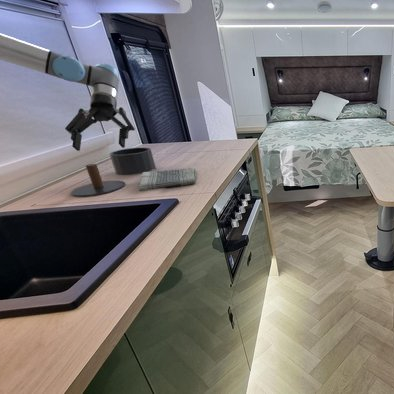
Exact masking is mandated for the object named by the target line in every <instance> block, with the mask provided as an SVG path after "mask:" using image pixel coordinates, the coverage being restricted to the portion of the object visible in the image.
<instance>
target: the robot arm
mask: <svg viewBox="0 0 394 394" xmlns="http://www.w3.org/2000/svg"><path fill="white" fill-rule="evenodd" d="M0 61H3V62H6V63H10V64H13V65H17V66H19V67H23V68H26V69H30V70H33V71H37V72H39V73H43V74H47V75H49V76H53V77H56V78H58V79H60V80H61V79H62V80H64V81H67V82H71V83H77V84H82V85H86V86H89V87H92V88H91V94H90V96H91V97H90V103H89V107H90V108H89V109H88V110H85V109H83V108H79V109H78V112H77V114H76V115H75V116H74V117H73V118H72V119H71V121H70V122H69V123H68V124H67V125H66V126H65V127H64V129H65V131H66V132H68V133H69V134H70V140H71V141H72V145H71V147H72V148H74V149H75V150H76V151H77V152H80V151H81V145H82V137H83V134H81V133H83V132H84V131H85V130H87V129H88V128H89V127H90V126H92V125H93V124H96V123H97V122H100V123H101V122H109V121H112V122H113V123H114V124H116V125H117V126H118V127H119V134H118V145H119V146H120V147H121V148H122V149H126V140H127V139H129V132H131V131H135V127H134V126H133V124H132V122H131V121H130V119H129V118H128V116H127V111H126V110H125V109H124V108H123V107H121V106H120V107H119V108H118V107H117V106H118V105H117V104H118V103H117V102H118V93H119V82H120V79H119V75H120V74H119V71H118V70H117V69H116V67H114V66H112V65H111V64H109V63H101V62H100V63H97V64H96V65H90V64H87V63H83V62H81V61H79V60H78V59H77V58H75V57H72V56H68V55H64V54H60V53H58V52H55V51H52V50H50V49H47V48H44V47H41V46H38V45H35V44H32V43H29V42H26V41H24V40H21V39H17V38H15V37H12V36H9V35H5V34H4V33H0ZM117 114H118V116H121V117H122V120H124V123H125V124H126V125H125V124H124V123H123V122H121V121H120V120H119V119H118V118H117V117H116V115H117Z"/></svg>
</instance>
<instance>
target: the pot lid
mask: <svg viewBox="0 0 394 394" xmlns="http://www.w3.org/2000/svg"><path fill="white" fill-rule="evenodd" d="M85 168H86V169H85V170H86V171H87V174H88V176H89V179H90V182H91V183H88V184H84V185H81V186H78V187H76V188H73V189H72V190H71V191H70V195H71V196H72V197H76V198H85V197H86V198H87V197H88V198H89V197H94V196H95V197H96V196H102V195H106V194H111V193H114V192H117V191H119V190H121V189H123V188H124V187H125V186H126V182H125V181H123V180H105V181H103V179H102V176H101V173H100V170H99V167H98V165H97V163H90V164H85Z"/></svg>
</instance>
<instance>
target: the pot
mask: <svg viewBox="0 0 394 394" xmlns="http://www.w3.org/2000/svg"><path fill="white" fill-rule="evenodd" d="M153 155H154V154H153V151H152V148H151V147H142V146H141V147H131V148H130V147H128V148H122V149H118V150H114V151H111V152H110V153H109V157H110V159H111V163H112V165H113V169H114V172H115V174H116V175H118V176H119V175H120V176H131V175H138V174H142V173H143V172H152V171H153V170H155V171H156V169H157V168H156V163H155V159H154V156H153Z"/></svg>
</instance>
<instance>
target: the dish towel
mask: <svg viewBox="0 0 394 394" xmlns="http://www.w3.org/2000/svg"><path fill="white" fill-rule="evenodd" d="M196 183H197V168H194V167H188V168H186V167H185V168H178V169H177V168H176V169H167V170H155V171H148V172H143V173H141V177H140V181H139V185H138V187H137V188H138V191H139V192H144V191H151V190H158V189H166V188H167V189H168V188H173V187H174V188H175V187H181V186H188V185H193V184H196Z"/></svg>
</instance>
